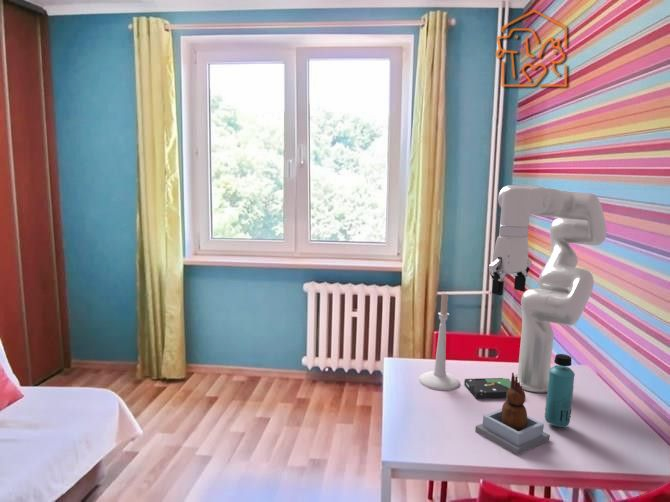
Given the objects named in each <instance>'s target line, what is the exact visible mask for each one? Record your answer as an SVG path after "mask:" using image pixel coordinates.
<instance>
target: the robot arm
mask: <svg viewBox="0 0 670 502" xmlns="http://www.w3.org/2000/svg"><path fill="white" fill-rule="evenodd" d="M497 202H498V205H499V208H500V219H499V230H498V231H499V232H498V236H497V238H496V241H495V245H494V249H493V255H492V262H491V263H490V264H489V265H488V269H489V275H490V277H491V280H492V286H491V288H492V289H491V294H493V295H496V296H503V295H504V284H505V283H504V281H503V280H504V278H505V276H506V275H509V274H516V275H515V276H514V285H513V288H514V290H516V291H518V292H519V291H520V292H523V294H522V296H521V298H520V299H521V301H520V308H521V317H522V318H521V319H522V321H521V323H522V324H521V334H520V335H521V336H520V344H519V345H520V347H519V357H518V367H517V368H518V369H517V374H514V379H516V377H517V378H518V382H520V386H522V390H523V391H528V392H531V393H541V394H542V393H547V391H548V381H549V370H550V368H551V364H552V356H553V355H552V354H553V346H554V338H555V337H554V335H555V334H554V330H553V327H552V325H551V324H550V323H554V324H557V325H562V326H567V327H568V326H569V327H571V326H572V327H573V326H574V325H576V324H577V323H578V321H580V318H581V316H582V314H583V312H584V310H585V308H586V306H587V303H588V301H589V299H590V297H591V295H592V292H593V289H594V284H595V283H594V281H595V280H594V277H593V274H592V272H590V271H589V270H587V269H584V268H581V267H577V265H578V261H579V259H578V255H577V253H576V252H575V250H574V249H573V247H572V246H571V245H570V244H575V245H576V244H577V245H586V246H599V245H602V244H603V243H604V242H605V241H606V237H607V233H608V232H607V231H608V228H607V224H606V219H605V214H604V210H603V207H602V204H601V201H600V199H599V198H598V196H597V195H595V194H594V193H589V192H572V191H565V190H560V189H555V188H549V187H548V188H547V187H542V186H537V185H536V186H535V185H534V186H533V185H513V184H512V185H511V184H509V185H505V186H503V187H502V188H501V190H500V191H499V193H498V196H497ZM530 215H533V216H541V217H549V218H554V220H553V221H552V222H551V224H550V227H549V237H550V256H549V257H548V259H547V261H546V264H545V265H544V267H543V268H542V270H541V272H540V274H539V277H538V281H537V282H538V283H537V284H538V286H539V288H537V287H536V288H528V289H527V290H526V281H527V278H528V273H529V272H530V267H531V265H532V260H531V259H529V240H528V239H529V237H528V236H529V225H530Z"/></svg>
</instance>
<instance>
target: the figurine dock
mask: <svg viewBox="0 0 670 502" xmlns="http://www.w3.org/2000/svg"><path fill="white" fill-rule="evenodd" d="M544 427H545V424H544V422H543V423H542V422H541V421H539V420H537V419H534V418H532V417H531V416H529V415H527V423H526V426H525V428H524V429H523V430H521V431H516V430H515V429H513V428H511V427H509V426H507V425H505V424H503V423H502V408H500V409H497V410H494V411H492V412H488V413H485V414H484V415H483V417H482V423H480V424H477V425H475V429H474V430H475V433H477V434H480V435H481V436H483V437H485V438H486V439H487V440H490V441H492V442H493V443H495V444H497V445H499V446H501V447H502V448H504V449H506V450H508V451H509V452H511V453H512V454H514V455H516V456H519V455H521V454H523V453H525V452H527V451H530V450H531V449H533V448H536V447H538V446H540V445H543V444H544V443H547V442H549V441H550V438H551V437H550V434H549V433H547V432H545V431H544V429H545V428H544Z"/></svg>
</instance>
